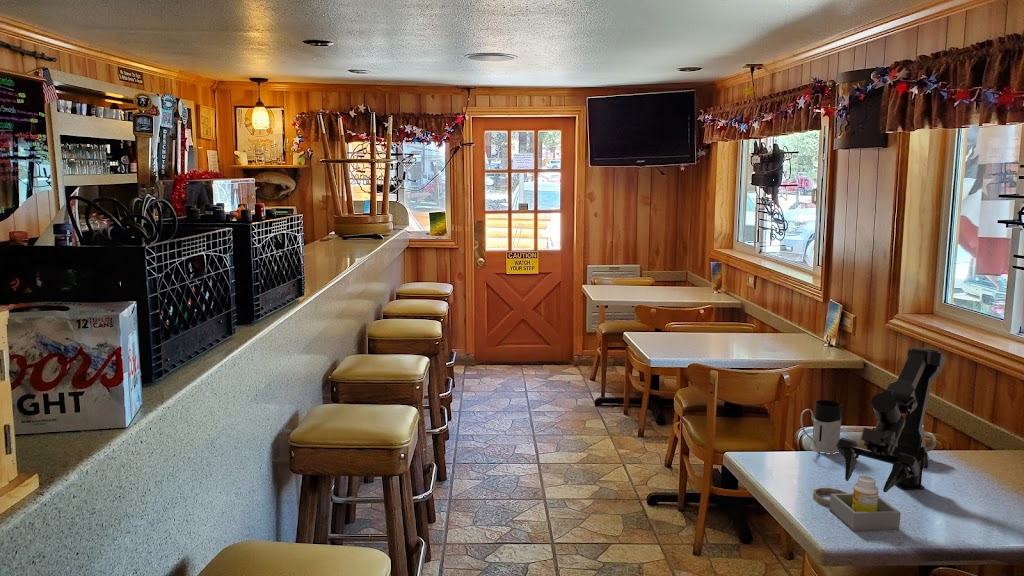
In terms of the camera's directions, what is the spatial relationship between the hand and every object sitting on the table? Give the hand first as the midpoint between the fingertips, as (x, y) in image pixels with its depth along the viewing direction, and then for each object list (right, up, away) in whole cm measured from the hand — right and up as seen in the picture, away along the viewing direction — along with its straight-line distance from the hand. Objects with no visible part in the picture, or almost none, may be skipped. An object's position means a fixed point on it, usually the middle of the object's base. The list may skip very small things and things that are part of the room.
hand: (865, 485), depth 186 cm
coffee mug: (+35, -3, +47) cm, 59 cm away
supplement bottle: (0, -9, +2) cm, 9 cm away
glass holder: (+9, -2, +51) cm, 52 cm away
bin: (0, -9, +2) cm, 9 cm away
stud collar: (-2, -7, +13) cm, 15 cm away
